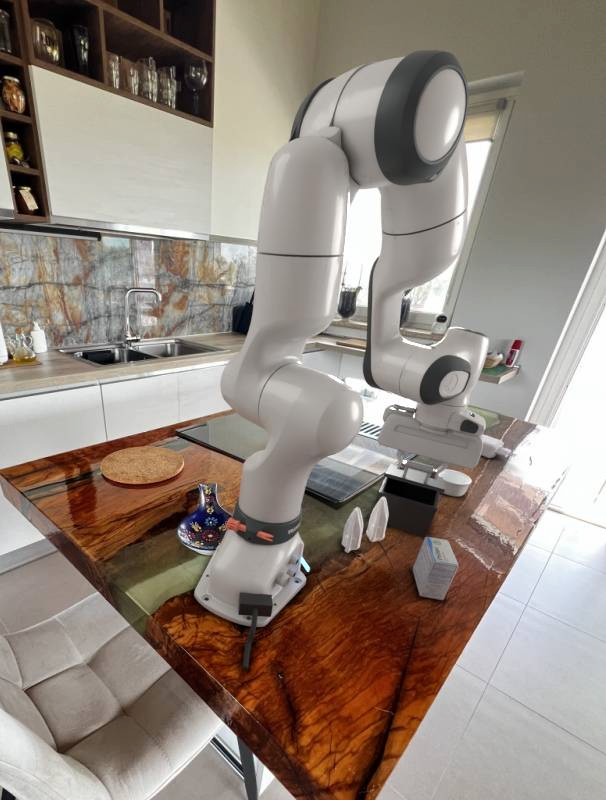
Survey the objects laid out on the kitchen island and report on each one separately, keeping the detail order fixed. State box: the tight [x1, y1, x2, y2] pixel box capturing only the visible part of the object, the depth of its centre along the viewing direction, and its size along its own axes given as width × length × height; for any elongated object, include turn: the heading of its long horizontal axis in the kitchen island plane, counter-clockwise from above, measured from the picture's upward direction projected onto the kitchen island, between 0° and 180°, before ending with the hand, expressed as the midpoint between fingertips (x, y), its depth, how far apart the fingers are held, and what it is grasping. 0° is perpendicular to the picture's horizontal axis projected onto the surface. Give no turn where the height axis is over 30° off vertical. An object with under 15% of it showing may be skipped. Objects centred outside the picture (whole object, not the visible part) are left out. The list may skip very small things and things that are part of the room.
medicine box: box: [412, 536, 460, 601], centre depth 78 cm, size 8×4×9 cm, turn 169°
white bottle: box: [481, 433, 517, 459], centre depth 139 cm, size 5×9×15 cm
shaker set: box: [341, 497, 389, 553], centre depth 88 cm, size 12×4×11 cm, turn 116°
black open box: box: [373, 476, 441, 538], centre depth 101 cm, size 16×13×8 cm
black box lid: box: [383, 459, 445, 494], centre depth 96 cm, size 16×13×5 cm
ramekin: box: [438, 468, 473, 497], centre depth 114 cm, size 9×9×4 cm
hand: (416, 473), depth 91 cm, fingers closed on black box lid, 5 cm apart
